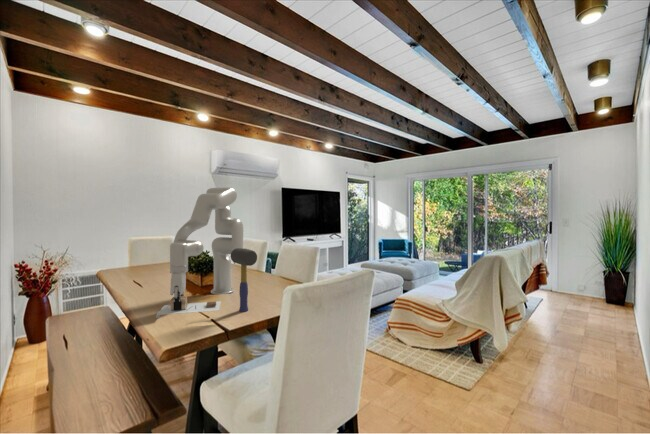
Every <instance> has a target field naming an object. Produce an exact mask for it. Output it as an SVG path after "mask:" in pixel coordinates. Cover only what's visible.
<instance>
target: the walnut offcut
mask: <svg viewBox="0 0 650 434" xmlns="http://www.w3.org/2000/svg"><path fill="white" fill-rule="evenodd" d="M206 302H207V301H206ZM216 302H217V301H208V302H207V304H206V308H211V307H216Z"/></svg>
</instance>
